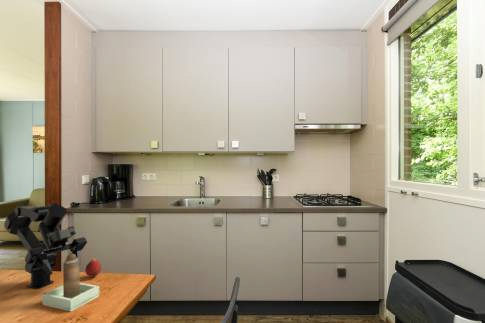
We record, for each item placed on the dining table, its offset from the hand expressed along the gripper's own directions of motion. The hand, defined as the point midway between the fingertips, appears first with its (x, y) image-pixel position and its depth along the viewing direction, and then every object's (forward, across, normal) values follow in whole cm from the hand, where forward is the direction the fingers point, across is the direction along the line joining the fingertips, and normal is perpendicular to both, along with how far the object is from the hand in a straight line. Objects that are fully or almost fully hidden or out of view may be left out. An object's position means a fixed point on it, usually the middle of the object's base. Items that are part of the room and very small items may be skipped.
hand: (66, 269), depth 98 cm
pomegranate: (+1, +15, +13) cm, 20 cm away
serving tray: (+10, 0, +4) cm, 11 cm away
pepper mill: (+9, 0, +4) cm, 10 cm away
